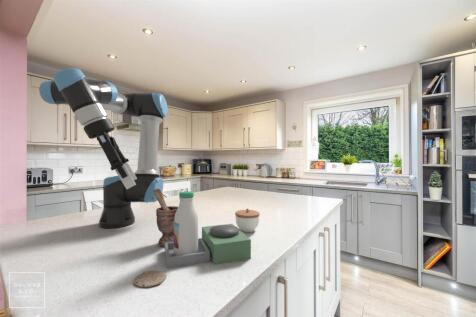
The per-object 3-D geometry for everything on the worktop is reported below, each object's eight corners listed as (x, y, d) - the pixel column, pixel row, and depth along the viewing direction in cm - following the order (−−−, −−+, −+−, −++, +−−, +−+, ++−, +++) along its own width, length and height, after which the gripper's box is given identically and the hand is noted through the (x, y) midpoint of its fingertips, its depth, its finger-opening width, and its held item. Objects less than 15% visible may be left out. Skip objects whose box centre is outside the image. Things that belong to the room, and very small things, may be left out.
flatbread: (127, 283, 57) (127, 280, 57) (150, 270, 64) (150, 266, 64) (150, 292, 53) (150, 288, 53) (172, 277, 60) (172, 273, 60)
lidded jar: (252, 235, 92) (252, 213, 92) (230, 231, 97) (230, 209, 97) (263, 228, 101) (263, 208, 101) (243, 224, 106) (243, 205, 106)
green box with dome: (201, 242, 84) (201, 223, 84) (232, 238, 88) (232, 220, 88) (214, 264, 67) (214, 240, 67) (250, 258, 71) (250, 235, 71)
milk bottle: (200, 249, 76) (201, 190, 76) (194, 259, 68) (194, 194, 68) (178, 248, 77) (179, 190, 77) (169, 258, 69) (170, 193, 69)
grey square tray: (164, 250, 76) (164, 242, 76) (201, 245, 81) (201, 238, 81) (167, 268, 65) (167, 258, 65) (209, 261, 69) (209, 252, 69)
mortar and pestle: (143, 246, 81) (143, 190, 80) (157, 237, 89) (157, 187, 89) (173, 248, 78) (173, 191, 78) (184, 239, 87) (184, 188, 87)
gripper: (91, 130, 77) (123, 183, 81) (69, 123, 54) (116, 197, 58) (113, 121, 79) (143, 173, 84) (101, 110, 56) (143, 183, 61)
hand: (132, 183), depth 71 cm, fingers open, 13 cm apart
